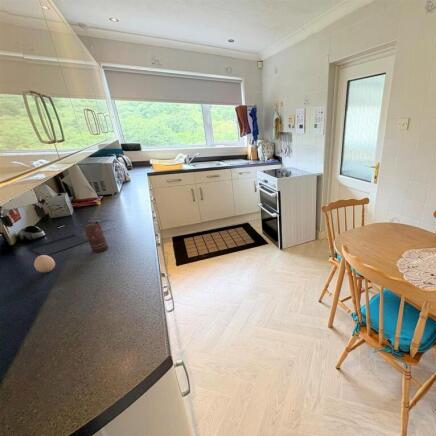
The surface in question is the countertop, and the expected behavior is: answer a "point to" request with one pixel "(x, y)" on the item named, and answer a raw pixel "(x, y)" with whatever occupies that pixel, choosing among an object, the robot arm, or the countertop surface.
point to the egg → (44, 263)
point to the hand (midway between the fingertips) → (26, 221)
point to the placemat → (59, 245)
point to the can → (95, 237)
